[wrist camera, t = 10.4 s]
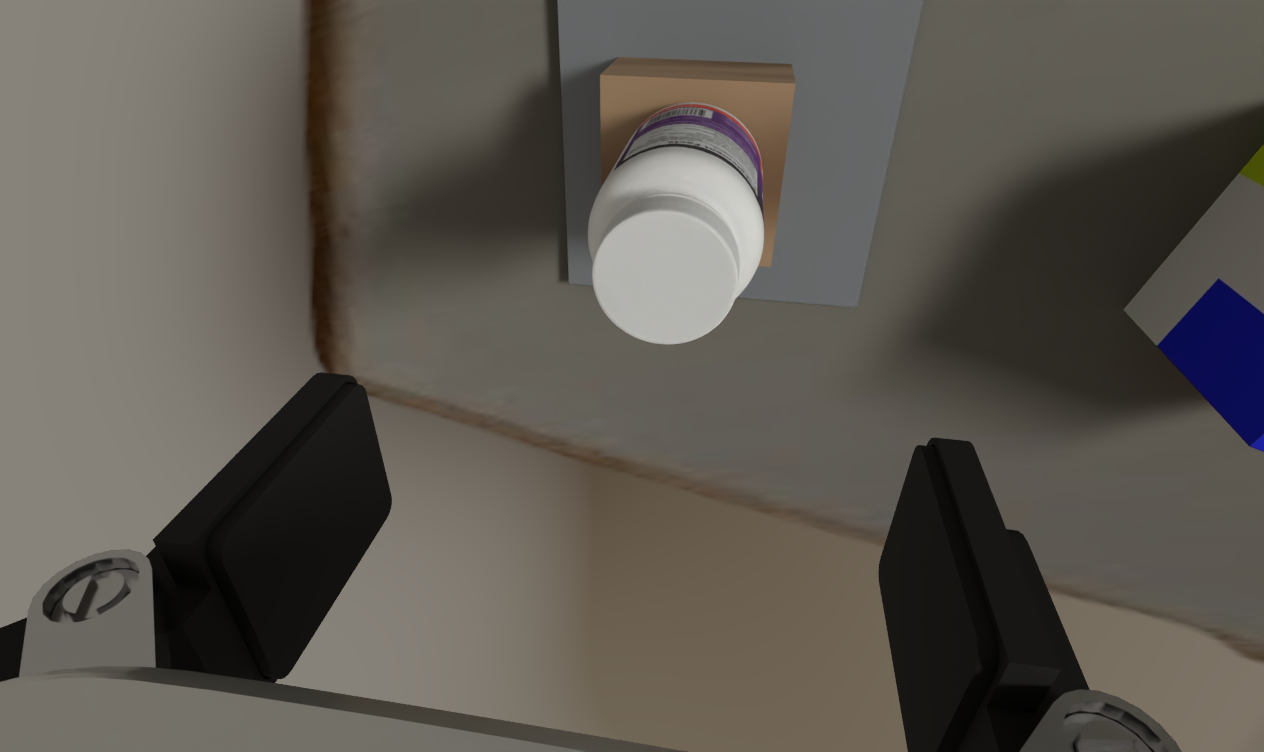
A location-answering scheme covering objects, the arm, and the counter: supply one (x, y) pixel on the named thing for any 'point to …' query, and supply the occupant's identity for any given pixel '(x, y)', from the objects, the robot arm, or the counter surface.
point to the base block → (732, 86)
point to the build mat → (819, 129)
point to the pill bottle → (678, 224)
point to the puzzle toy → (1216, 304)
